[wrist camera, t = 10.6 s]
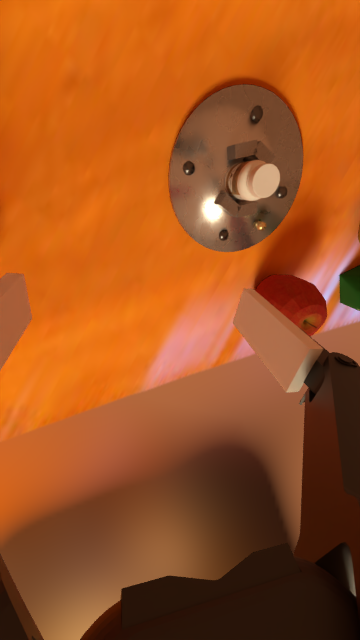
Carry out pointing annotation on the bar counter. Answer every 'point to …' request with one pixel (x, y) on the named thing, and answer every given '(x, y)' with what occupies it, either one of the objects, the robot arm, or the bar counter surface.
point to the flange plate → (221, 154)
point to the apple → (295, 300)
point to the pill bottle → (252, 180)
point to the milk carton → (350, 288)
